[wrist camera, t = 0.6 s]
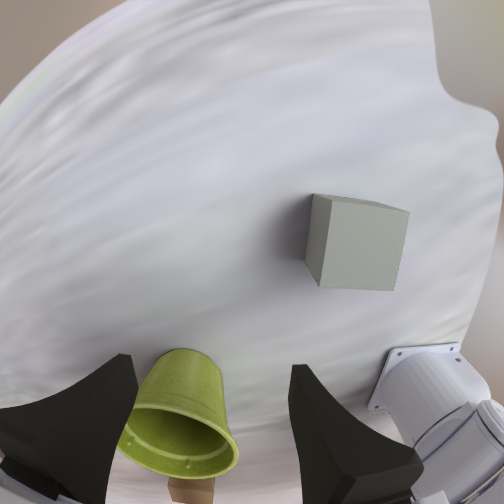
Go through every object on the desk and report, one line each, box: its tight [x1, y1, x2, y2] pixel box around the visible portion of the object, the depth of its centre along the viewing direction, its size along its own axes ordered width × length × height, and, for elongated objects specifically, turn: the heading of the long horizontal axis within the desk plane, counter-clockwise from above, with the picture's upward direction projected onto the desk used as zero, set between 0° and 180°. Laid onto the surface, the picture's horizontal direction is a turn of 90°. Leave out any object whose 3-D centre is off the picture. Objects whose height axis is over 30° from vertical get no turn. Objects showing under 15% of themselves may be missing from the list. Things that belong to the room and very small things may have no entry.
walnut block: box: [168, 476, 215, 504], centre depth 26 cm, size 5×5×5 cm
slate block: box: [304, 193, 409, 291], centre depth 18 cm, size 5×5×5 cm
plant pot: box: [116, 349, 239, 479], centre depth 20 cm, size 9×9×9 cm
